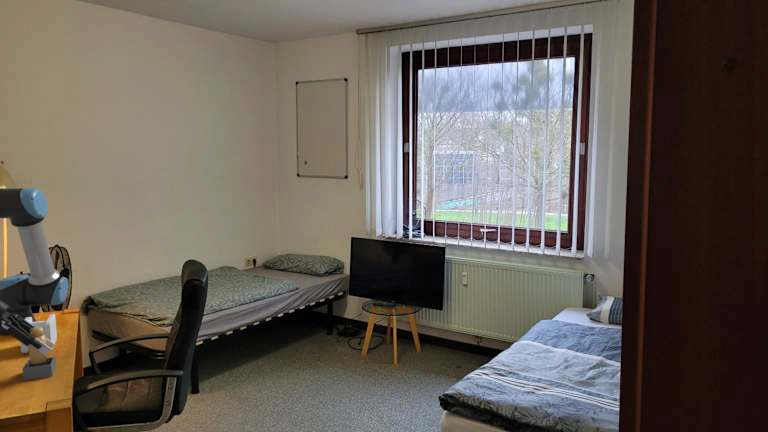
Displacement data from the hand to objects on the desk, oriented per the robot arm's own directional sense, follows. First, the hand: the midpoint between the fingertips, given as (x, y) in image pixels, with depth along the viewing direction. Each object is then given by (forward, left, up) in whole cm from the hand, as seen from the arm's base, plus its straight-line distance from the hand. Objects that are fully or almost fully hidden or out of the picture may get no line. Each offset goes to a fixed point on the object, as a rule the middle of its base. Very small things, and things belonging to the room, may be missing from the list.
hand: (50, 349), depth 198 cm
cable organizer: (-30, -9, -8) cm, 32 cm away
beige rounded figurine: (0, -4, -3) cm, 5 cm away
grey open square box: (0, -4, -8) cm, 9 cm away
